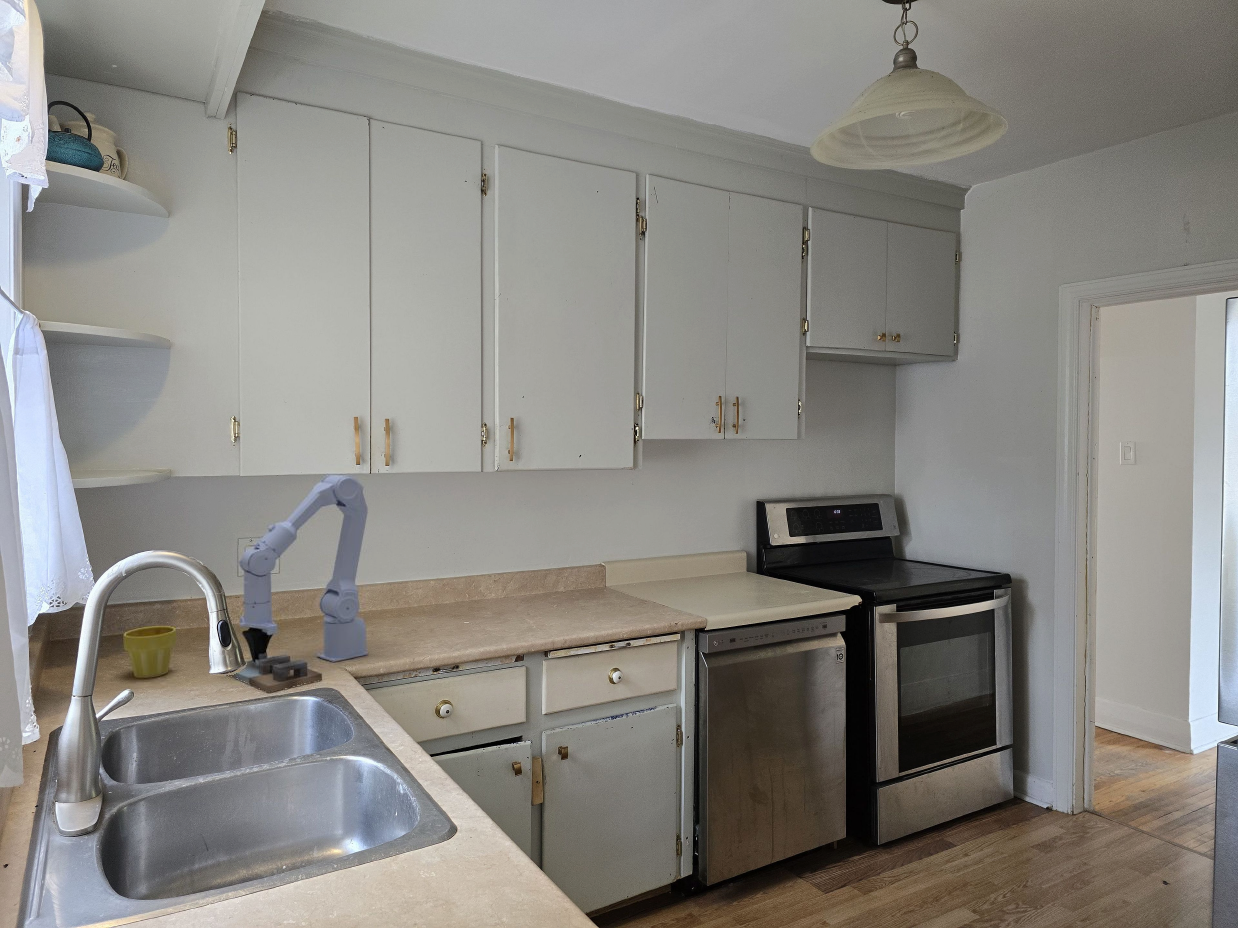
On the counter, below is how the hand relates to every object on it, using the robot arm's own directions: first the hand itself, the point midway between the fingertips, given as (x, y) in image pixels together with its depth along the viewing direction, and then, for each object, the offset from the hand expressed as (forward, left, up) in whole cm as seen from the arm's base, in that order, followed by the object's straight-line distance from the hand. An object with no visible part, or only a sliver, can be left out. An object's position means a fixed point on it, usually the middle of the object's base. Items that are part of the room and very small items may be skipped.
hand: (258, 660), depth 189 cm
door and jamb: (0, +6, -2) cm, 7 cm away
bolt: (0, +7, -1) cm, 7 cm away
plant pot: (+17, -16, -3) cm, 23 cm away
